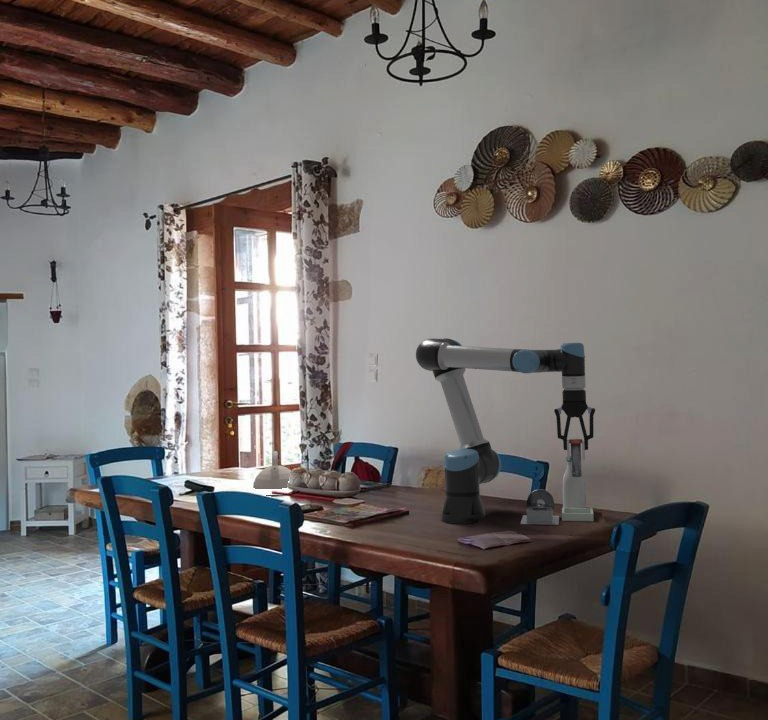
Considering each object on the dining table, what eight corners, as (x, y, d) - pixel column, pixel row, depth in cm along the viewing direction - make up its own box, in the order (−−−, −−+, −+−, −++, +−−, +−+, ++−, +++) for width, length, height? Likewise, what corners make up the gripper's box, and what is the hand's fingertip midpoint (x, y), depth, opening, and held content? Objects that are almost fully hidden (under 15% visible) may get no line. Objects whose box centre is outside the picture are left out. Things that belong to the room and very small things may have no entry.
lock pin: (570, 477, 263) (569, 440, 263) (570, 475, 267) (569, 438, 267) (583, 477, 262) (582, 439, 262) (583, 475, 266) (581, 438, 266)
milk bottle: (586, 516, 273) (584, 457, 273) (563, 516, 275) (561, 457, 275) (585, 512, 281) (583, 455, 281) (563, 512, 282) (561, 455, 283)
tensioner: (520, 527, 257) (519, 495, 257) (523, 518, 272) (522, 488, 272) (558, 528, 255) (557, 496, 255) (559, 519, 269) (558, 488, 269)
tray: (562, 524, 261) (561, 513, 261) (562, 518, 271) (562, 507, 271) (593, 524, 259) (593, 513, 259) (592, 519, 268) (592, 508, 268)
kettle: (250, 497, 334) (249, 454, 335) (254, 489, 355) (253, 449, 355) (299, 495, 336) (298, 452, 336) (300, 488, 357) (299, 447, 357)
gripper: (547, 390, 263) (549, 461, 263) (601, 389, 259) (603, 461, 259) (547, 389, 271) (549, 458, 270) (600, 388, 267) (602, 458, 266)
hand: (576, 459), depth 265 cm, fingers closed on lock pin, 4 cm apart
